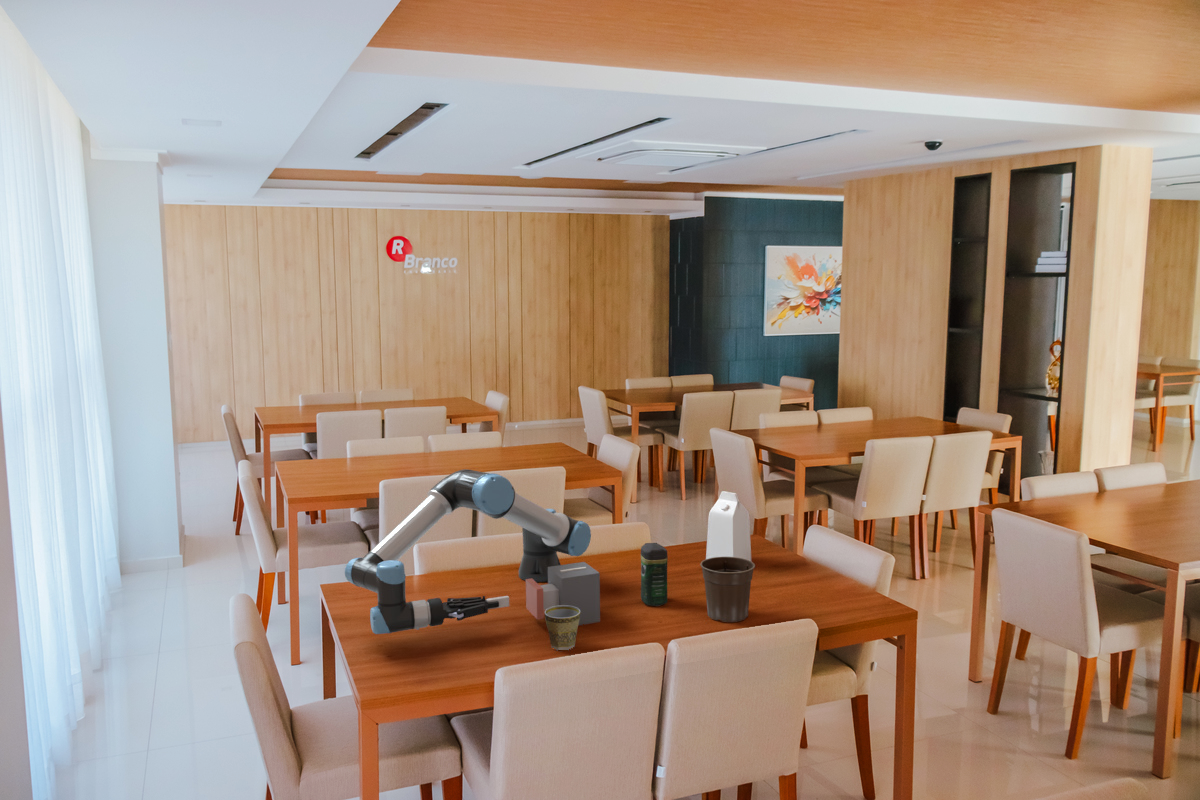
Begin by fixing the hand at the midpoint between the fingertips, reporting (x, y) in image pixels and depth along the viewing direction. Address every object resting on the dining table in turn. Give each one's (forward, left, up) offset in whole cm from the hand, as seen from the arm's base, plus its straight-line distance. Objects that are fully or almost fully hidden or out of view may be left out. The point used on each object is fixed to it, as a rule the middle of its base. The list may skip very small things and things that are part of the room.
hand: (508, 600), depth 247 cm
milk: (-3, +96, -9) cm, 96 cm away
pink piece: (+4, +14, -5) cm, 15 cm away
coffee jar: (+10, +48, -9) cm, 50 cm away
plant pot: (+33, +57, -9) cm, 66 cm away
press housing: (+5, +20, -8) cm, 22 cm away
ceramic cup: (+19, +6, -9) cm, 22 cm away
